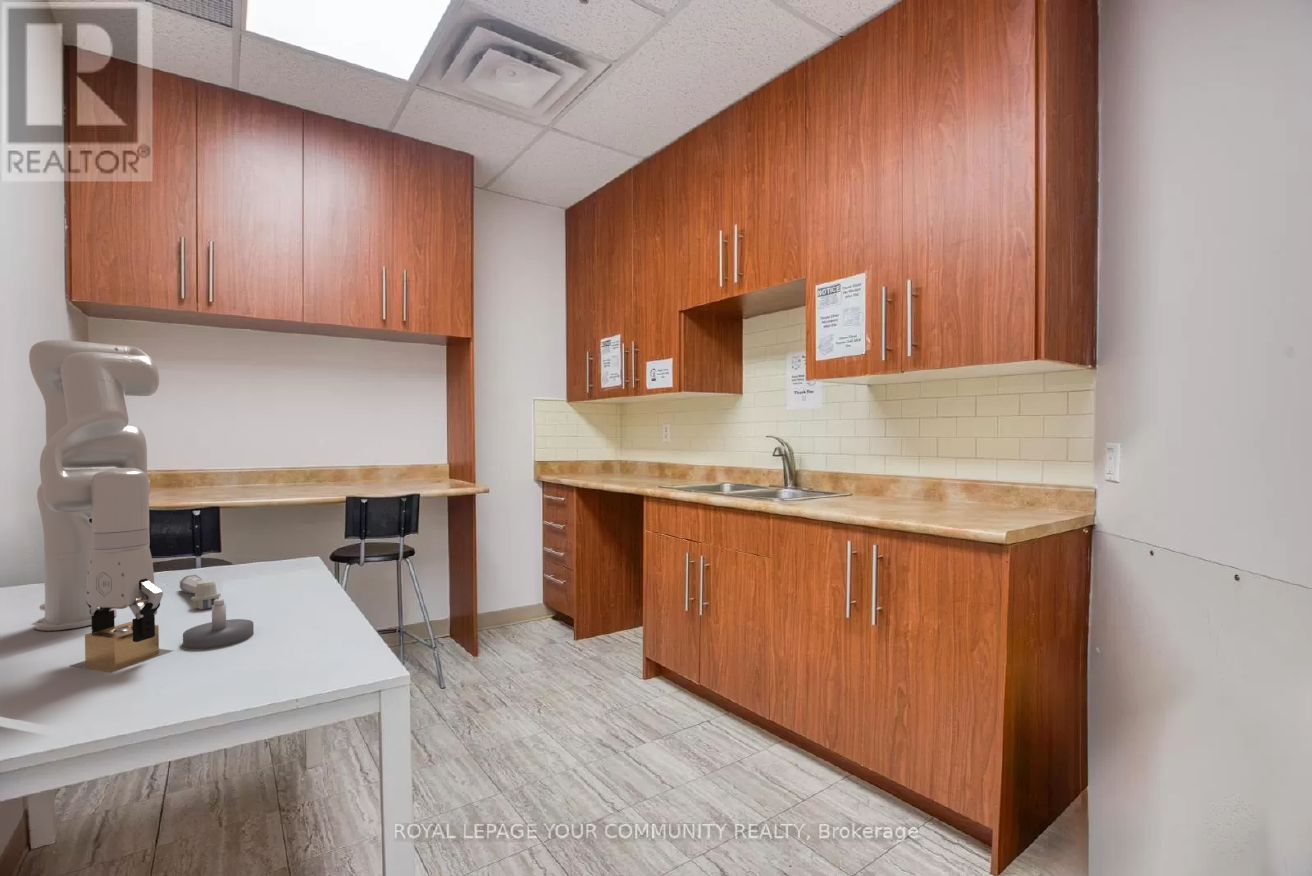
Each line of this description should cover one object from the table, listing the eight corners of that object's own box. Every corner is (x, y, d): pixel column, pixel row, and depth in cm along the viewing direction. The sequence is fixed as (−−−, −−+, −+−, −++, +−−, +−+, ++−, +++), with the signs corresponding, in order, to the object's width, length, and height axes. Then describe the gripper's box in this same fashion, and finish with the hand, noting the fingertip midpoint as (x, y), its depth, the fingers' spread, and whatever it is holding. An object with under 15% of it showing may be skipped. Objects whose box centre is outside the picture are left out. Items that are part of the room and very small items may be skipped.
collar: (85, 663, 103) (84, 634, 103) (130, 649, 110) (130, 622, 109) (114, 667, 101) (114, 638, 101) (158, 652, 108) (158, 625, 108)
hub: (168, 651, 111) (167, 605, 111) (224, 631, 122) (224, 590, 122) (213, 657, 108) (212, 610, 108) (267, 636, 119) (266, 594, 119)
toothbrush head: (201, 573, 156) (221, 576, 139) (202, 599, 155) (223, 605, 138) (175, 576, 152) (193, 580, 135) (176, 603, 151) (194, 610, 134)
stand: (68, 671, 102) (68, 636, 102) (133, 650, 111) (133, 618, 111) (111, 678, 99) (110, 642, 99) (173, 656, 109) (173, 623, 109)
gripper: (60, 542, 103) (62, 641, 104) (134, 545, 99) (136, 648, 99) (110, 535, 111) (112, 627, 111) (180, 538, 106) (182, 634, 106)
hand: (123, 637), depth 105 cm, fingers open, 9 cm apart
